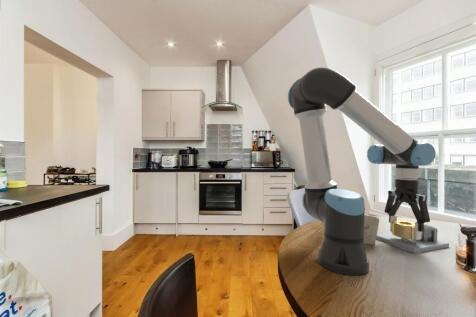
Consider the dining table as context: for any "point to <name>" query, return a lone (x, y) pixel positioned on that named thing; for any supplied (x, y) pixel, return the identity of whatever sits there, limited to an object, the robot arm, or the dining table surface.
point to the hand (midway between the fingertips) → (405, 235)
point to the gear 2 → (429, 234)
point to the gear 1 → (403, 229)
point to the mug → (370, 229)
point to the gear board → (411, 243)
